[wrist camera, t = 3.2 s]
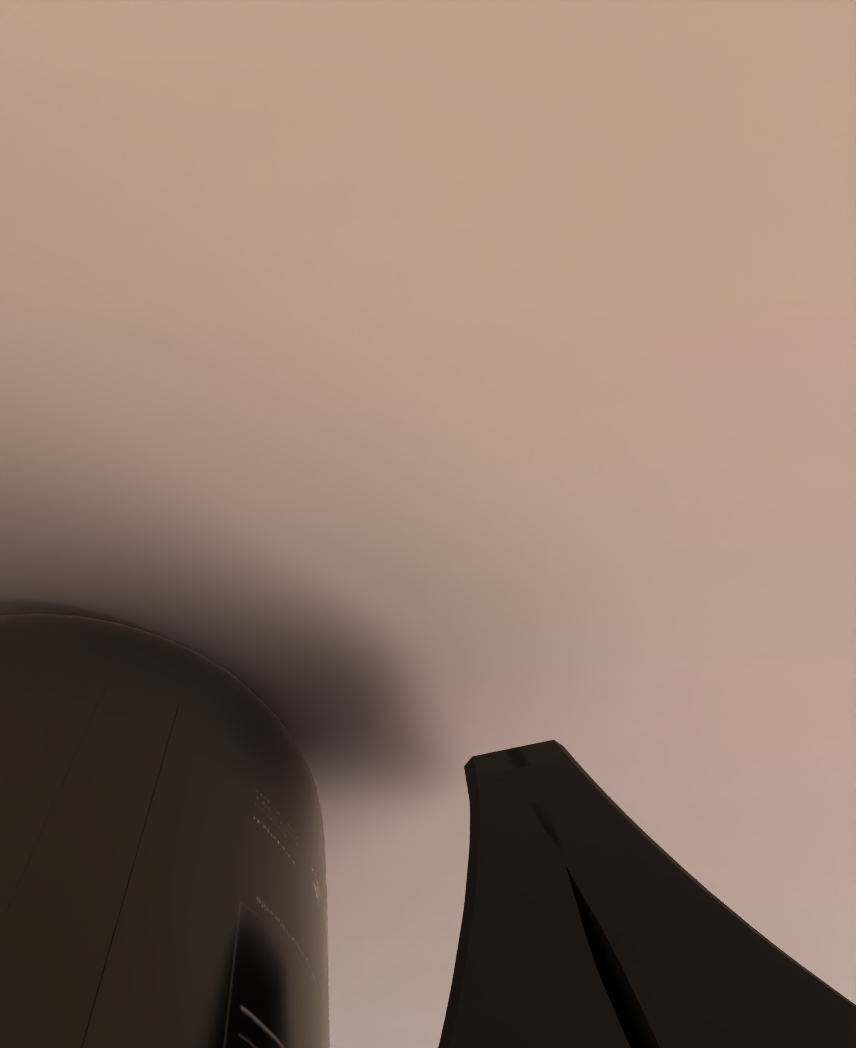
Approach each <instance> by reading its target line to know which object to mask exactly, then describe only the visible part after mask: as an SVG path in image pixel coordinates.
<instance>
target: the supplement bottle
mask: <svg viewBox="0 0 856 1048" xmlns="http://www.w3.org/2000/svg"><path fill="white" fill-rule="evenodd" d="M0 1048H330V1047H329V987H328V927H327V886H326V862H325V839H324V830H323V820H322V813H321V807H320V802H319V798H318V794H317V789H316V786H315V784H314V781H313V778H312V775H311V773H310V770H309V768H308V766H307V764H306V762H305V760H304V758H303V756H302V754H301V752H300V750H299V748H298V746H297V744H296V742H295V741H294V739H293V738H292V736H291V735H290V733H289V732H288V730H287V729H286V727H285V726H284V725H283V723H282V722H281V721H280V720H279V718H278V717H277V716H276V715H275V714H274V712H273V711H272V710H271V709H270V708H269V707H268V706H267V705H266V704H265V703H264V702H263V701H262V700H261V699H260V698H259V697H258V696H257V695H256V694H255V693H254V692H253V691H252V690H251V689H249V688H248V687H247V686H246V685H244V684H243V683H242V682H241V681H239V680H238V679H237V678H236V677H234V676H233V675H232V674H231V673H229V672H228V671H226V670H225V669H223V668H222V667H220V666H219V665H217V664H216V663H214V662H213V661H211V660H210V659H208V658H206V657H204V656H202V655H200V654H198V653H197V652H195V651H193V650H191V649H189V648H187V647H185V646H183V645H181V644H178V643H176V642H174V641H171V640H169V639H167V638H164V637H162V636H159V635H156V634H153V633H150V632H147V631H144V630H141V629H138V628H135V627H131V626H127V625H123V624H119V623H115V622H111V621H106V620H100V619H94V618H88V617H82V616H72V615H59V614H9V615H0Z"/></svg>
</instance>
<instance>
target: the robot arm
mask: <svg viewBox="0 0 856 1048" xmlns="http://www.w3.org/2000/svg"><path fill="white" fill-rule="evenodd" d="M464 769H465V775H466V781H467V787H468V794H469V800H470V848H469V859H468V871H467V882H466V893H465V903H464V911H463V919H462V925H461V931H460V937H459V943H458V950H457V956H456V962H455V968H454V974H453V980H452V986H451V991H450V996H449V1001H448V1006H447V1011H446V1016H445V1021H444V1025H443V1030H442V1034H441V1039H440V1043H439V1047H438V1048H856V1005H855V1004H854V1003H852V1002H851V1001H849V1000H848V999H847V998H845V997H844V996H842V995H841V994H840V993H838V992H837V991H836V990H834V989H833V988H832V987H830V986H829V985H827V984H826V983H825V982H823V981H822V980H821V979H819V978H818V977H816V976H815V975H814V974H812V973H811V972H810V971H808V970H807V969H806V968H804V967H803V966H801V965H800V964H799V963H797V962H796V961H795V960H794V959H792V958H791V957H790V956H788V955H787V954H786V953H784V952H783V951H782V950H781V949H779V948H778V947H777V946H775V945H774V944H773V943H772V942H770V941H769V940H768V939H767V938H765V937H764V936H763V935H762V934H760V933H759V932H758V931H757V930H755V929H754V928H753V927H751V926H750V925H749V924H748V923H747V922H745V921H744V920H743V919H742V918H741V917H739V916H738V915H737V914H736V913H735V912H733V911H732V910H731V909H730V908H729V907H727V906H726V905H725V904H724V903H723V902H721V901H720V900H719V899H718V898H717V897H716V896H714V895H713V894H712V893H711V892H710V891H708V890H707V889H706V888H705V887H704V886H703V885H702V884H700V883H699V882H698V881H697V880H696V879H695V878H694V877H693V876H691V875H690V874H689V873H688V872H687V871H686V870H685V869H684V868H682V867H681V866H680V865H679V864H678V863H677V862H676V861H675V860H674V859H673V858H672V857H671V856H670V855H668V854H667V853H666V852H665V851H664V850H663V849H662V848H661V847H660V846H659V845H658V844H657V843H656V842H654V841H653V840H652V839H651V838H650V837H649V836H648V835H647V834H646V833H645V832H644V831H643V830H642V829H641V828H640V827H639V826H638V825H637V824H636V823H635V822H634V821H632V820H631V819H630V818H629V817H628V816H627V815H626V814H625V813H624V812H623V811H622V810H621V809H620V807H619V806H618V805H617V804H616V803H615V802H614V801H613V800H612V799H611V798H610V797H609V796H608V795H607V794H606V793H605V792H604V791H603V790H602V789H601V788H600V787H599V786H598V785H597V784H596V783H595V781H594V780H593V779H592V778H591V777H590V776H589V775H588V774H587V773H586V772H585V771H584V769H583V768H582V767H581V766H580V765H579V764H578V763H577V762H576V760H575V759H574V758H573V757H572V756H571V755H570V753H569V752H568V751H567V750H566V749H565V747H564V746H562V745H561V744H559V743H558V742H556V741H555V740H550V741H546V742H541V743H536V744H531V745H526V746H521V747H516V748H512V749H507V750H502V751H497V752H492V753H487V754H482V755H478V756H473V757H472V758H471V759H470V760H469V761H468V762H467V764H466V765H465V766H464Z"/></svg>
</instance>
